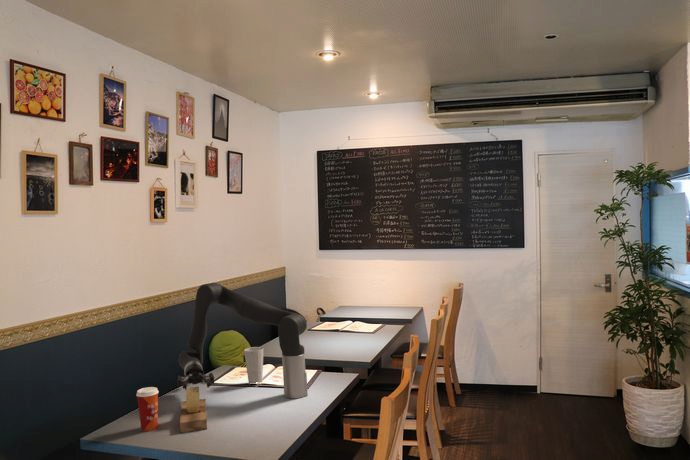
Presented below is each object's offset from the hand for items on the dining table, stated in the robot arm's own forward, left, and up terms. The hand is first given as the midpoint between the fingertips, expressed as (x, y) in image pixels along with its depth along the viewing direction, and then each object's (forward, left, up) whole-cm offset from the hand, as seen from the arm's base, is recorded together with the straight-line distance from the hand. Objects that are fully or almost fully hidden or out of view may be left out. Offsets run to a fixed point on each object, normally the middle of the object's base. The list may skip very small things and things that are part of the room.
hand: (197, 386), depth 222 cm
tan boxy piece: (+2, +11, -9) cm, 14 cm away
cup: (-25, -26, -9) cm, 37 cm away
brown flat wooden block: (+2, +11, -9) cm, 14 cm away
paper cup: (+17, +14, -9) cm, 24 cm away
